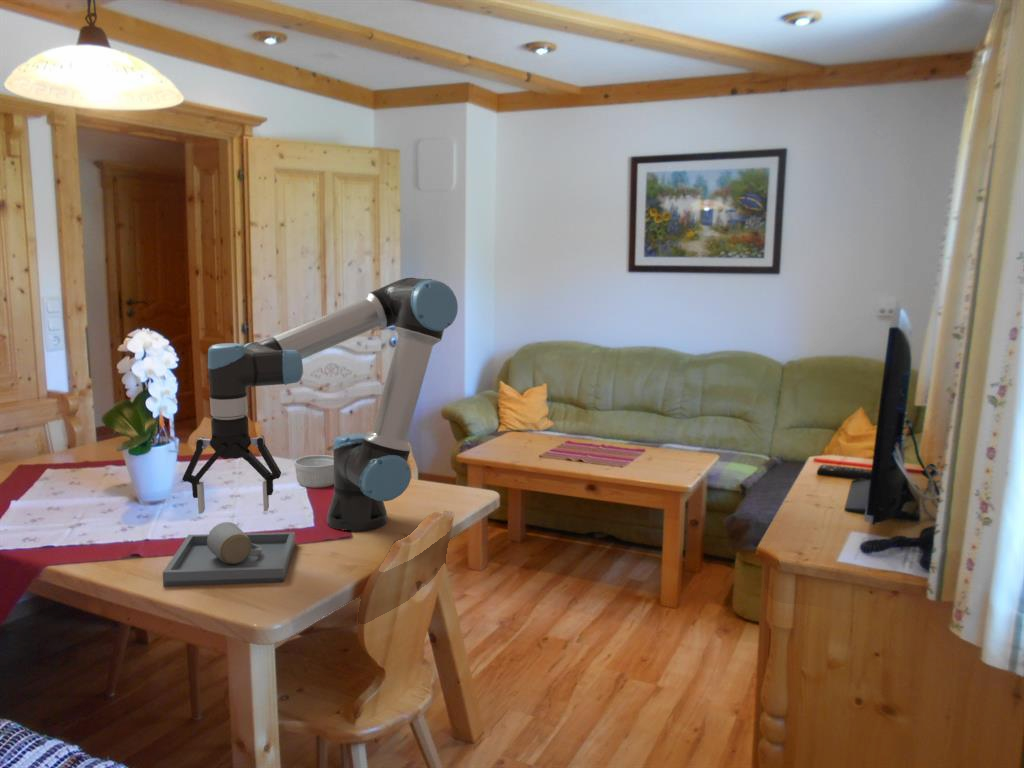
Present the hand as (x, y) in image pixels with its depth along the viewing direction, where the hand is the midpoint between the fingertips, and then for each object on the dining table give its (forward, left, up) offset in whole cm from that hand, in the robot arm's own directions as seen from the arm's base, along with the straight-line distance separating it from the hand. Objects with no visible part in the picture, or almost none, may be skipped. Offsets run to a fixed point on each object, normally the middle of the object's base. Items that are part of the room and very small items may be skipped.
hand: (234, 510), depth 175 cm
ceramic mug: (0, 0, -11) cm, 11 cm away
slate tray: (0, 0, -12) cm, 12 cm away
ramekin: (-13, -62, -13) cm, 64 cm away
